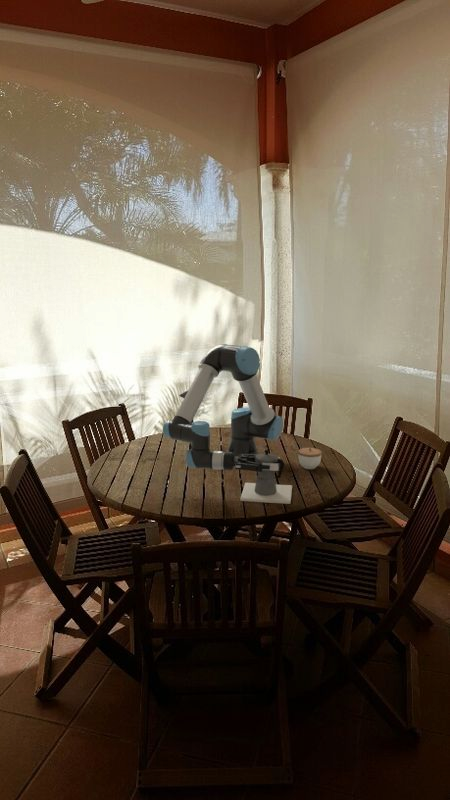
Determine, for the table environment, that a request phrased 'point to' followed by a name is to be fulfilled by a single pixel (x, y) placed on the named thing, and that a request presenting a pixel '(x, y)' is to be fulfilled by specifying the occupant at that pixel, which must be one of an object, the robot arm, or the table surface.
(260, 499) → the placemat
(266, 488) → the coffeepot
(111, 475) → the table surface
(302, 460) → the lidded jar
